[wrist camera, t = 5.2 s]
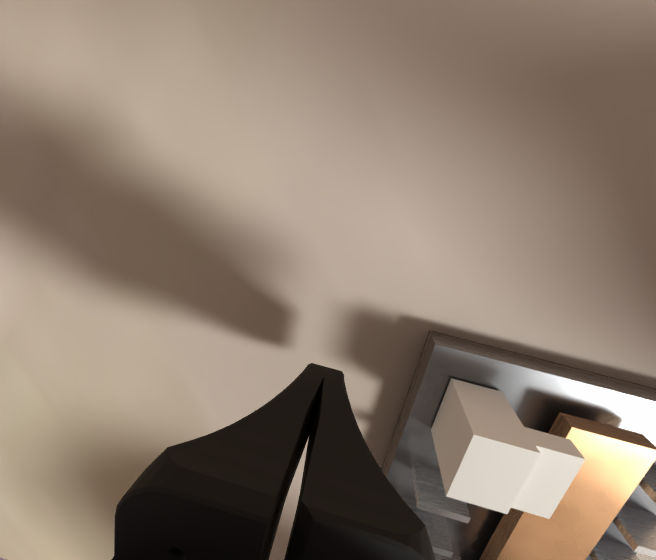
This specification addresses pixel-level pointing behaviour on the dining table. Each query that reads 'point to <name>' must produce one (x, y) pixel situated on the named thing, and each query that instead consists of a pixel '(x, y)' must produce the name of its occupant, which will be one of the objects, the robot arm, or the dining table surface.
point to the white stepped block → (499, 454)
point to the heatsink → (535, 413)
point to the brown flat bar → (578, 495)
